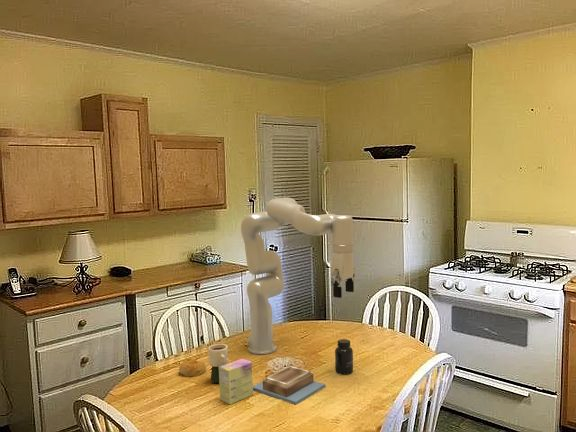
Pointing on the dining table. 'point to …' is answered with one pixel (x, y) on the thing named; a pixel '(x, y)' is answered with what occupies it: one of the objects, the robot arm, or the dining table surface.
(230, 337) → the dining table surface
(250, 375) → the box
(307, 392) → the board
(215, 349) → the character mug
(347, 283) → the robot arm
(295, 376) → the tray
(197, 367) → the bagel
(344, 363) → the supplement bottle
